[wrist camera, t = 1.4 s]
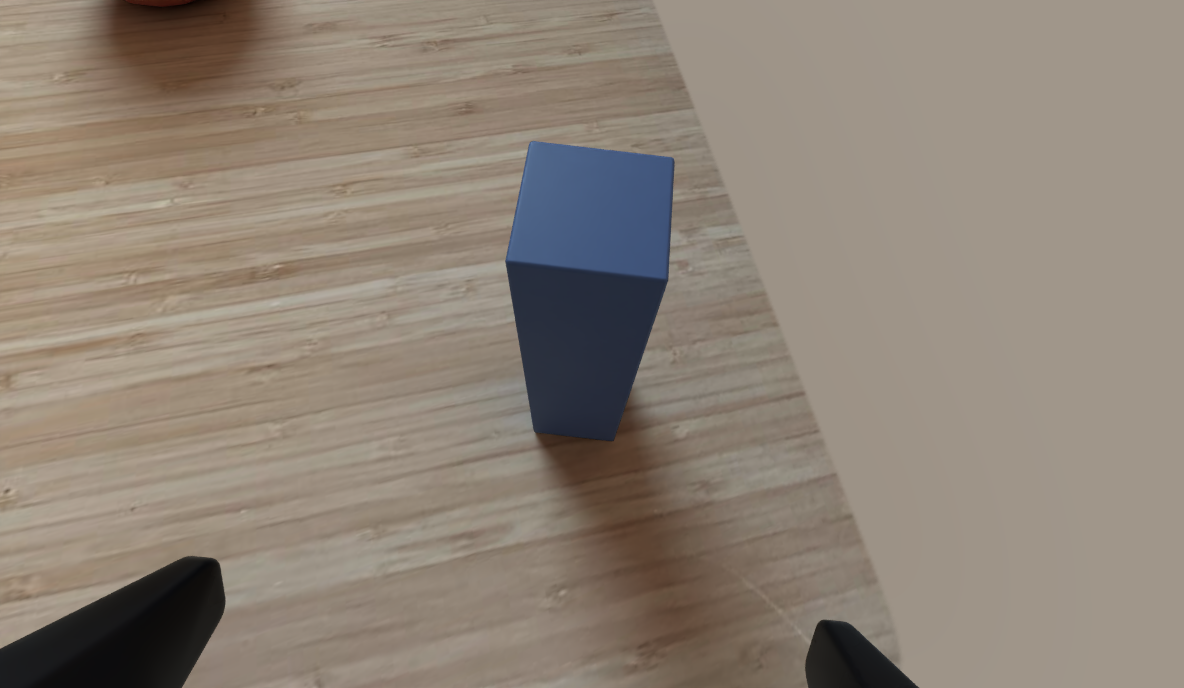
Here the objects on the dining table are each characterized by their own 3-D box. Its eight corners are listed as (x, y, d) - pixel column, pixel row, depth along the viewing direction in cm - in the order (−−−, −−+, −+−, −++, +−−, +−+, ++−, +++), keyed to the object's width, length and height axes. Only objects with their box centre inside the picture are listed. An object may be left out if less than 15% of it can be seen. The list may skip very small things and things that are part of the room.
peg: (613, 441, 23) (668, 281, 11) (533, 432, 23) (504, 262, 11) (620, 367, 24) (675, 156, 13) (544, 358, 24) (529, 138, 13)
